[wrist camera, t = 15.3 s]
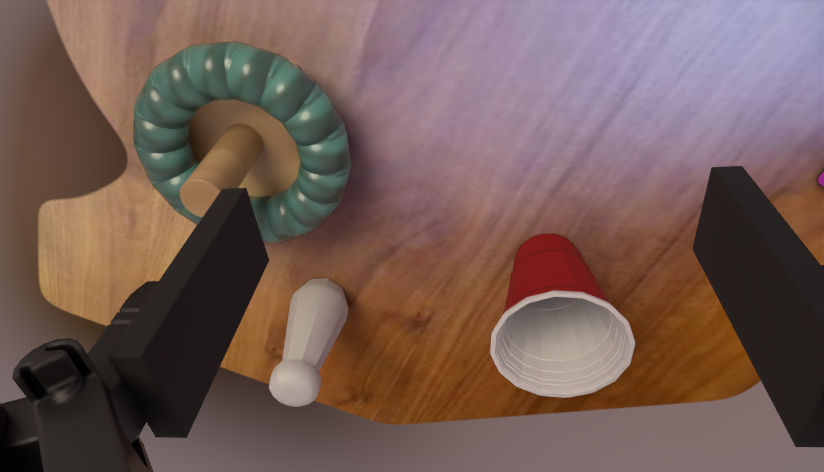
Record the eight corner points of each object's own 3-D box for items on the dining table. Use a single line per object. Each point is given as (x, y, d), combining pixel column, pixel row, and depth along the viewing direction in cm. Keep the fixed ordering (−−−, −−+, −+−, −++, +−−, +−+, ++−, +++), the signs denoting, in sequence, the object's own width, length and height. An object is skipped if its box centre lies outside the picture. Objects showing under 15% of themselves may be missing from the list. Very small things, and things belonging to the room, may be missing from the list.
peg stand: (166, 74, 45) (96, 131, 37) (298, 65, 44) (257, 122, 35) (208, 191, 52) (156, 263, 43) (325, 186, 50) (295, 259, 42)
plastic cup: (572, 187, 48) (597, 277, 39) (624, 270, 53) (658, 370, 43) (464, 241, 53) (462, 335, 43) (522, 314, 57) (532, 413, 48)
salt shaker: (352, 274, 56) (325, 377, 46) (352, 315, 59) (326, 420, 49) (294, 268, 56) (254, 369, 46) (297, 309, 60) (260, 412, 49)
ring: (114, 43, 43) (85, 61, 39) (334, 27, 41) (322, 44, 37) (187, 228, 52) (169, 254, 49) (367, 222, 50) (360, 249, 47)
